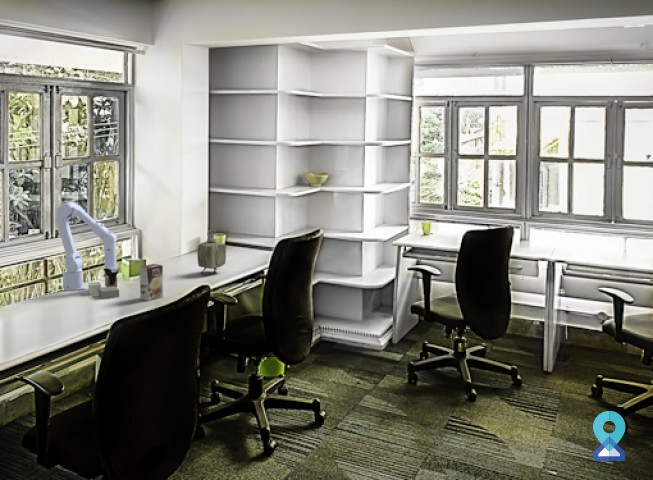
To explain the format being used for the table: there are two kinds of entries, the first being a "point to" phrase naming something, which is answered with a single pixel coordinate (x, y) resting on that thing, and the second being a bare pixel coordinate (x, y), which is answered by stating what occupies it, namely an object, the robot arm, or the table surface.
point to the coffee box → (151, 282)
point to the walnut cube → (109, 283)
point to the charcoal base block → (108, 292)
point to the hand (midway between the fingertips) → (111, 283)
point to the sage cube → (94, 288)
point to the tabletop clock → (211, 253)
